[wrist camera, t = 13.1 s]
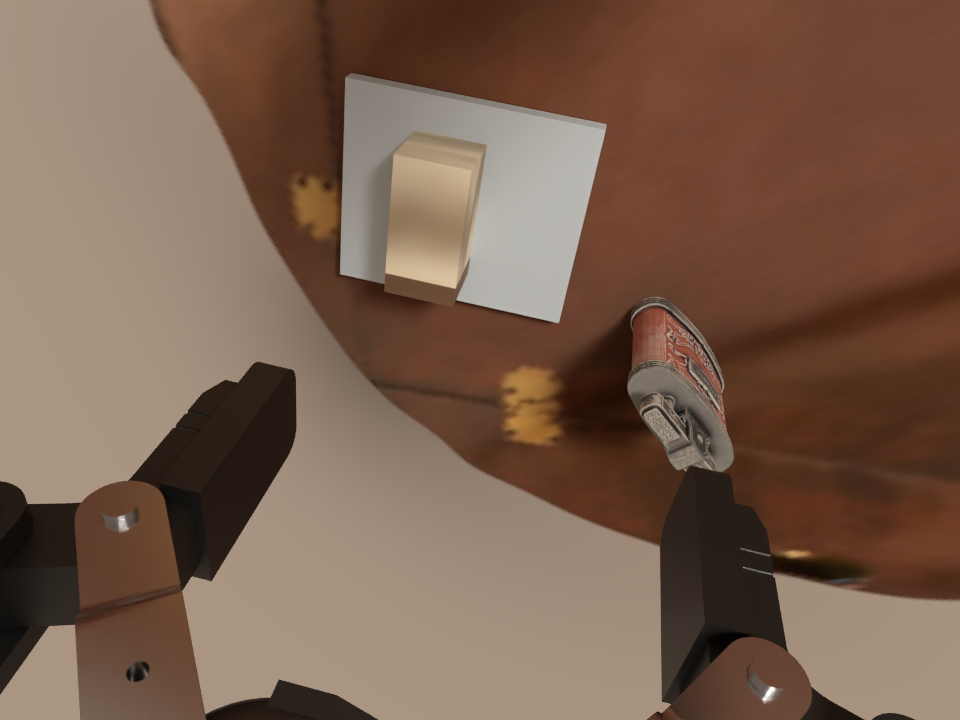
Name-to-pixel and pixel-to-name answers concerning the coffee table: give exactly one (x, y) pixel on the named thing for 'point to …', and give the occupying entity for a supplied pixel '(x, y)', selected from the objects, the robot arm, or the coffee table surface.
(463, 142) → the block
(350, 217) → the mat
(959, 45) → the coffee table surface
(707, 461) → the lighter
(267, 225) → the coffee table surface
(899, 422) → the coffee table surface
